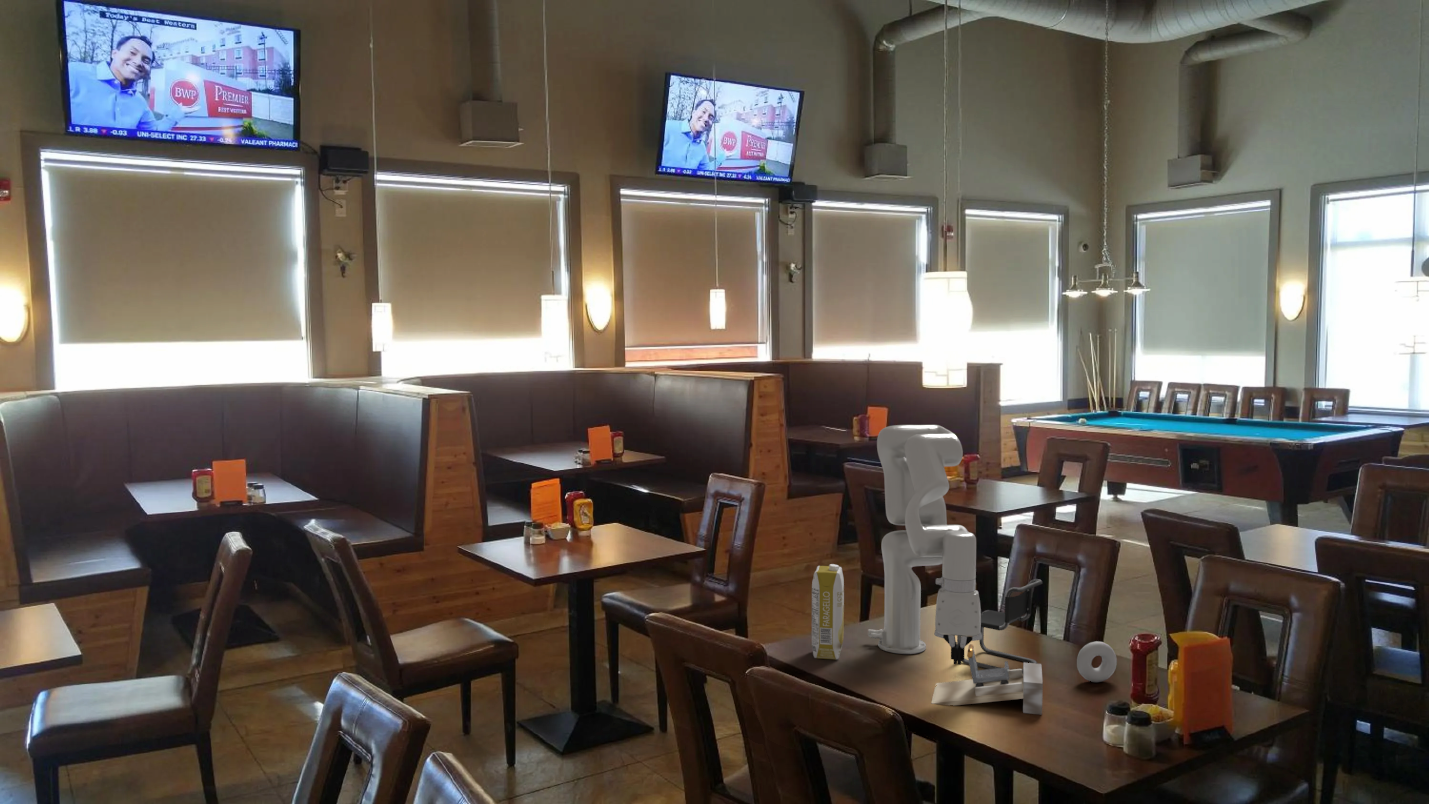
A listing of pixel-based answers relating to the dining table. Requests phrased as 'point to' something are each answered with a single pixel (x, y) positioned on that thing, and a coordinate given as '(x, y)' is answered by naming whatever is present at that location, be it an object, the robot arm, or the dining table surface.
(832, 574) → the juice carton
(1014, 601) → the chair
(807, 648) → the dining table surface
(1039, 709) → the dock
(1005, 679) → the trolley
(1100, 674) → the donut
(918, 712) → the dining table surface
